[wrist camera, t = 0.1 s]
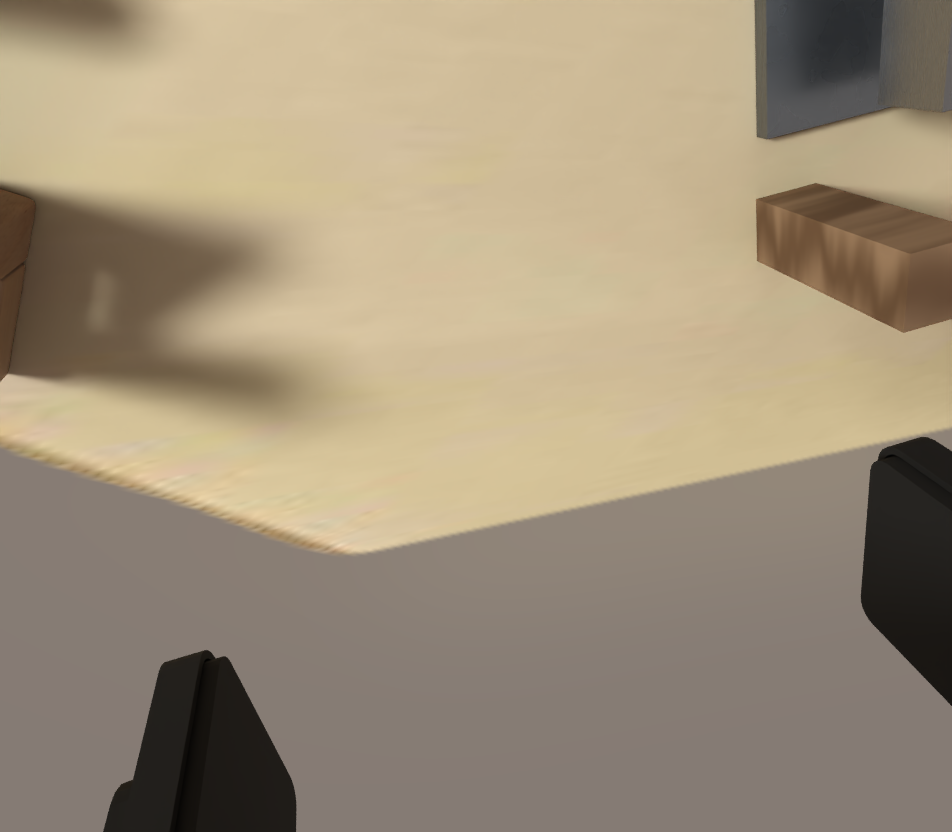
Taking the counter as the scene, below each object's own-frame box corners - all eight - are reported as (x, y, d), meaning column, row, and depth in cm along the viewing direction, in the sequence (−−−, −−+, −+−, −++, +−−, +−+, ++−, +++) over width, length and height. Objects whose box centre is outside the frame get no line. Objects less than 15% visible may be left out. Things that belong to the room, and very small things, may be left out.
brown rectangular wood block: (756, 199, 48) (910, 254, 35) (815, 183, 48) (988, 232, 36) (757, 260, 50) (903, 332, 37) (814, 245, 50) (977, 311, 38)
